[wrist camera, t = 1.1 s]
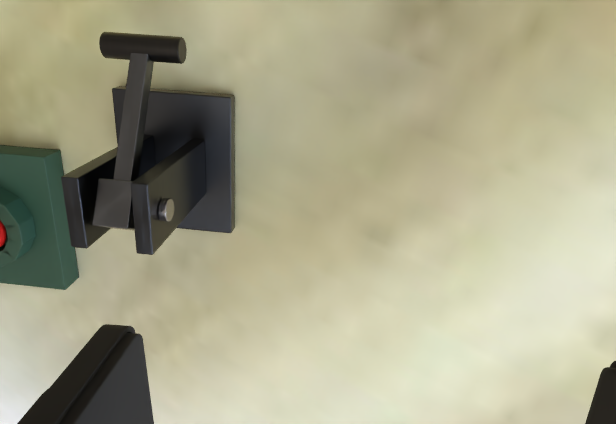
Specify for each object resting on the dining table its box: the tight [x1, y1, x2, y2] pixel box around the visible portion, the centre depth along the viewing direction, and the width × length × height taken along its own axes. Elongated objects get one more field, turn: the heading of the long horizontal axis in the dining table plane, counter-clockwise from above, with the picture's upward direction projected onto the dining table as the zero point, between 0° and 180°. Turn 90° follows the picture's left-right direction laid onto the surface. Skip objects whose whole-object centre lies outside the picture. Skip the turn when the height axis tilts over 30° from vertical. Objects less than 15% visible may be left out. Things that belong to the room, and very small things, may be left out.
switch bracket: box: [61, 86, 235, 255], centre depth 32 cm, size 11×9×12 cm
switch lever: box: [92, 32, 186, 230], centre depth 29 cm, size 12×5×2 cm, turn 175°
